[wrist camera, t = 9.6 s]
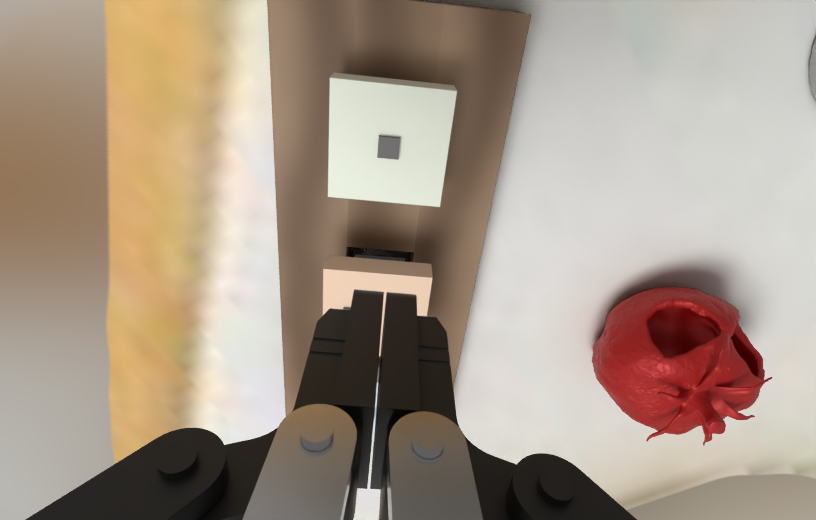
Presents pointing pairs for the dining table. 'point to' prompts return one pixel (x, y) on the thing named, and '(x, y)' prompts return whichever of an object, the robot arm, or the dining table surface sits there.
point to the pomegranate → (678, 361)
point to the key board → (372, 220)
